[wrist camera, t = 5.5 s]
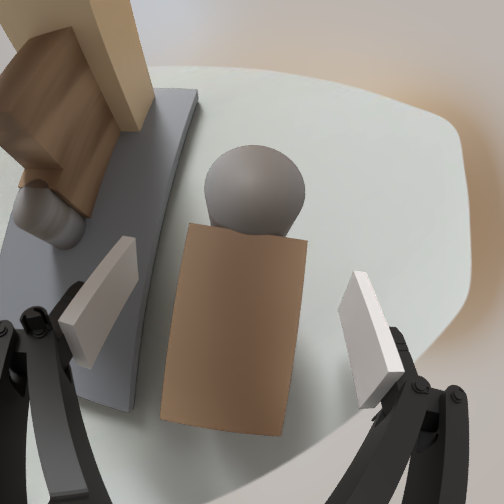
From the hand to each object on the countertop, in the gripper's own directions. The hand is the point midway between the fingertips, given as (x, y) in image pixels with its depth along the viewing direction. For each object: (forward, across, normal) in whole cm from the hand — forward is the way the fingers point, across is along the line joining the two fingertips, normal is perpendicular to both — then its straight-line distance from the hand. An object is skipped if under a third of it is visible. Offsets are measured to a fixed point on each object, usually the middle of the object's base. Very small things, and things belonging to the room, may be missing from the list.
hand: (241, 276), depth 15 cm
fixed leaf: (+6, -13, +2) cm, 14 cm away
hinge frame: (+5, -13, -1) cm, 14 cm away
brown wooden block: (+2, 0, -4) cm, 4 cm away
